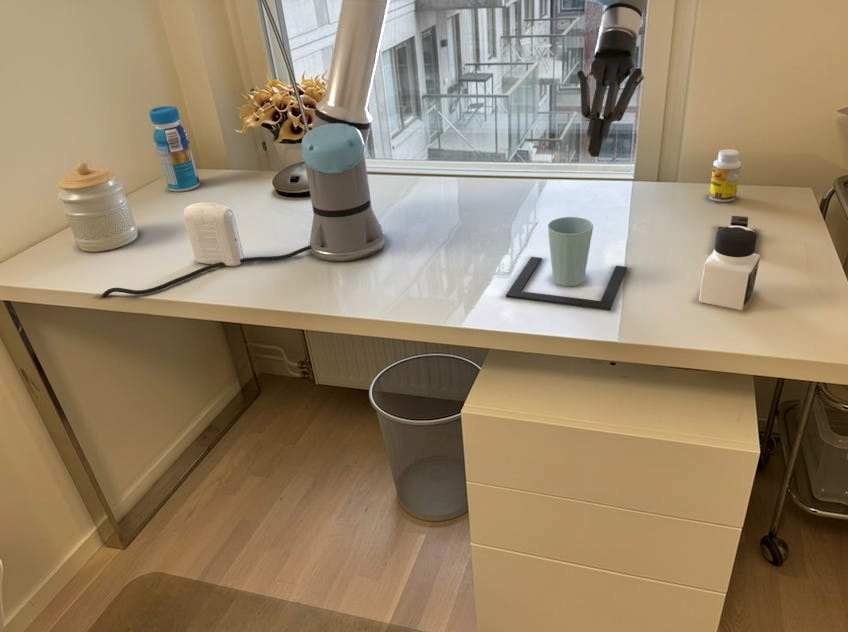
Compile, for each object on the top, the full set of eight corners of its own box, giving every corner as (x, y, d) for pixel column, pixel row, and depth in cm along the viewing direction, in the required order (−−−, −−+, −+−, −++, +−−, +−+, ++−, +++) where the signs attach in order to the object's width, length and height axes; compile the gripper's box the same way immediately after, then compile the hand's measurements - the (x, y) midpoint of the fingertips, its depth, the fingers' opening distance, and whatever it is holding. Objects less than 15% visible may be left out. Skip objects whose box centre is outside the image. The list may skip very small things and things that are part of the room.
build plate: (755, 258, 128) (759, 234, 126) (713, 254, 131) (716, 231, 128) (756, 231, 138) (760, 208, 135) (716, 228, 140) (720, 206, 137)
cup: (591, 270, 128) (594, 216, 122) (589, 290, 122) (592, 234, 116) (549, 269, 129) (550, 216, 124) (545, 288, 123) (546, 233, 118)
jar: (149, 237, 156) (124, 159, 146) (92, 258, 148) (62, 176, 139) (123, 225, 164) (98, 149, 154) (68, 243, 156) (37, 165, 146)
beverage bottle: (162, 192, 182) (138, 113, 171) (177, 181, 188) (155, 105, 178) (192, 192, 180) (170, 112, 169) (206, 181, 187) (186, 104, 176)
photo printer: (248, 258, 143) (234, 200, 136) (237, 268, 139) (221, 208, 132) (205, 255, 145) (189, 198, 139) (193, 264, 142) (176, 206, 135)
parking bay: (531, 259, 134) (531, 256, 133) (626, 269, 127) (627, 266, 127) (505, 297, 121) (505, 294, 121) (609, 310, 115) (610, 308, 115)
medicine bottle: (743, 311, 112) (756, 242, 106) (698, 302, 116) (708, 235, 109) (753, 292, 117) (766, 225, 111) (709, 284, 120) (719, 218, 114)
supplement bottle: (703, 195, 155) (710, 149, 149) (727, 192, 156) (734, 146, 150) (716, 204, 150) (723, 157, 145) (740, 201, 151) (748, 154, 145)
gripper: (654, 48, 137) (631, 162, 134) (590, 52, 143) (566, 161, 140) (647, 25, 130) (622, 145, 128) (580, 30, 136) (555, 144, 134)
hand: (593, 153), depth 134 cm, fingers closed
